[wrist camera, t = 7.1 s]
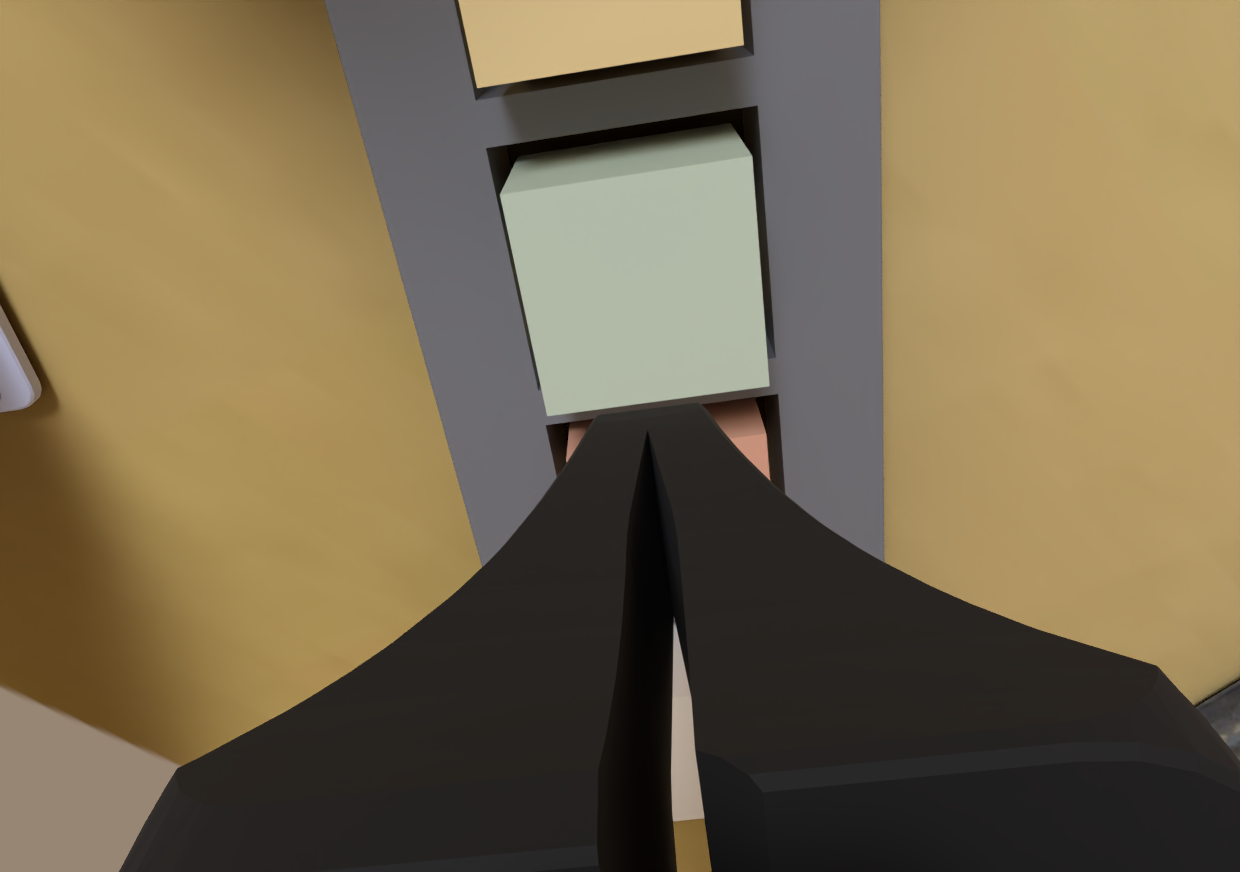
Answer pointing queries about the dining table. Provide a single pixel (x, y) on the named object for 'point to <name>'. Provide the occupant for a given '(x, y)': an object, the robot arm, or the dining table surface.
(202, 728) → the dining table surface
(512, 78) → the key ochre
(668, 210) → the key sage
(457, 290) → the keypad board
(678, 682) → the key ivory
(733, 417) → the key terracotta
